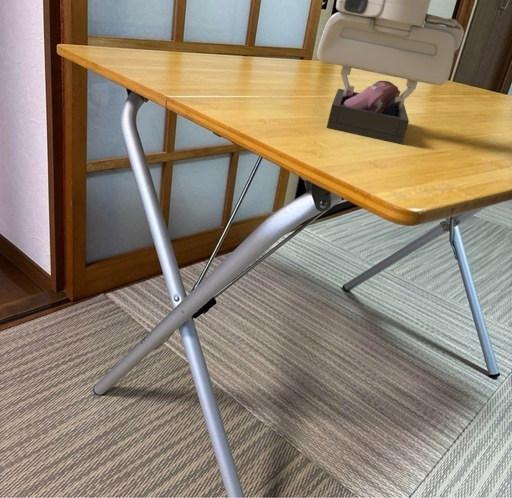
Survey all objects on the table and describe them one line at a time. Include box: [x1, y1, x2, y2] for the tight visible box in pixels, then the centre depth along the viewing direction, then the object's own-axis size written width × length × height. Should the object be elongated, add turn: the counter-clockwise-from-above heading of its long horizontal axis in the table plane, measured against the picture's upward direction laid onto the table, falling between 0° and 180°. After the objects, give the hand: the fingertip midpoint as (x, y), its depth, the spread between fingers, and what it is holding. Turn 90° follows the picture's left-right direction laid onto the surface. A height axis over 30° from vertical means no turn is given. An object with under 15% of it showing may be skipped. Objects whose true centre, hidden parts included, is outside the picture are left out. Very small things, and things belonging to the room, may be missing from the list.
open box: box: [326, 88, 410, 145], centre depth 83 cm, size 11×15×4 cm
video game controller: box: [342, 80, 401, 113], centre depth 82 cm, size 10×5×7 cm, turn 143°
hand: (371, 102), depth 82 cm, fingers closed on video game controller, 6 cm apart
